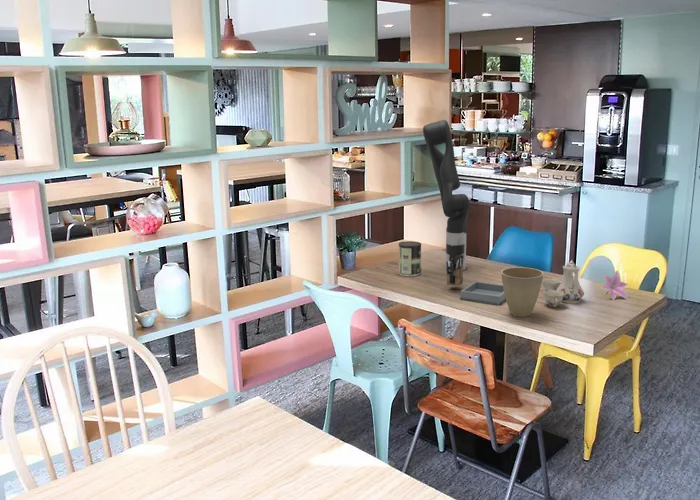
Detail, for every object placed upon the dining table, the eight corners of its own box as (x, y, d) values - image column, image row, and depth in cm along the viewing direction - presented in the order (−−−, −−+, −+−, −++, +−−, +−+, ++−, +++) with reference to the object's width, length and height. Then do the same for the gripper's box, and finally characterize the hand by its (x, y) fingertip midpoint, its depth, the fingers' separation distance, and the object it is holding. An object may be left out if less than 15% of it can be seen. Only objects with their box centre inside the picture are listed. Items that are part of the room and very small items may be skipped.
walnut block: (451, 281, 280) (451, 265, 278) (462, 283, 277) (462, 267, 276) (446, 284, 276) (447, 268, 274) (458, 286, 273) (458, 270, 272)
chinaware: (536, 292, 276) (534, 254, 273) (578, 290, 273) (576, 251, 270) (545, 314, 249) (542, 271, 246) (591, 311, 246) (589, 268, 243)
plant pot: (503, 305, 254) (505, 265, 251) (543, 310, 249) (545, 269, 245) (496, 317, 241) (497, 275, 237) (538, 322, 235) (540, 279, 232)
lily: (594, 301, 261) (606, 284, 255) (591, 283, 271) (602, 265, 265) (623, 311, 261) (635, 293, 255) (619, 292, 270) (631, 275, 264)
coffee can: (420, 270, 307) (420, 240, 304) (421, 276, 297) (422, 245, 294) (397, 270, 307) (397, 241, 304) (399, 276, 297) (399, 246, 294)
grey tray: (474, 289, 276) (474, 281, 275) (512, 294, 268) (512, 286, 267) (460, 299, 263) (460, 290, 262) (499, 305, 255) (499, 296, 254)
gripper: (453, 238, 280) (452, 276, 284) (440, 245, 268) (439, 285, 272) (470, 239, 276) (469, 278, 280) (457, 246, 264) (456, 287, 268)
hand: (454, 281), depth 276 cm, fingers closed on walnut block, 5 cm apart
